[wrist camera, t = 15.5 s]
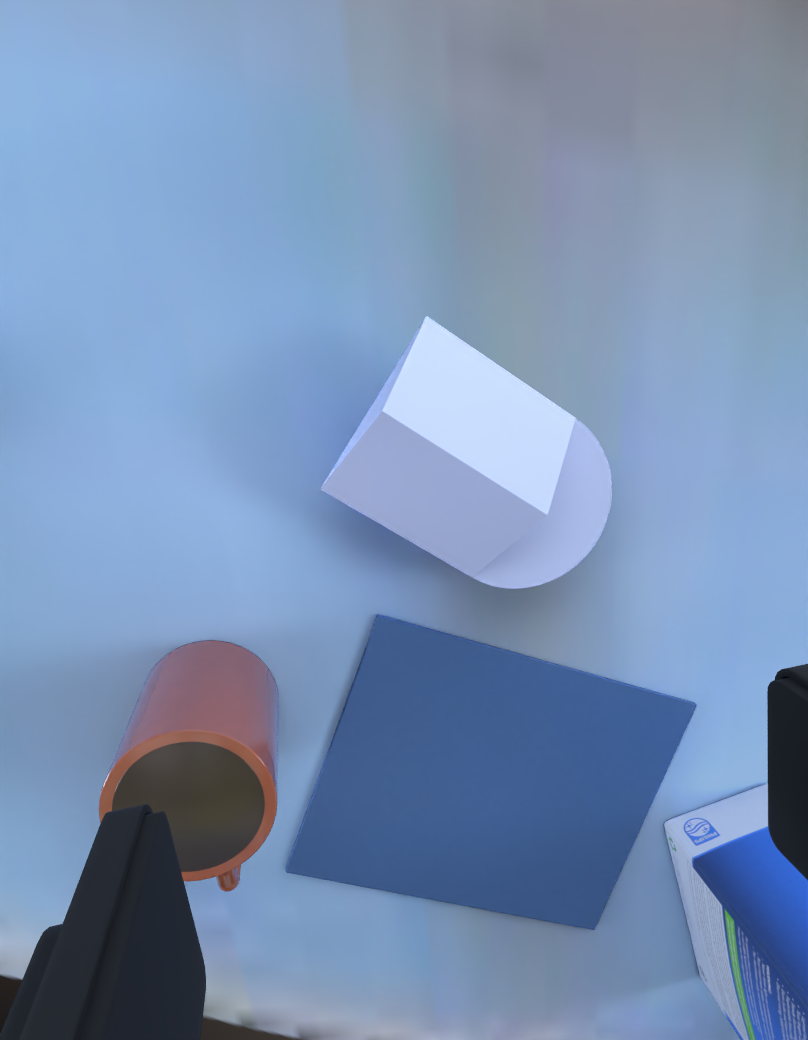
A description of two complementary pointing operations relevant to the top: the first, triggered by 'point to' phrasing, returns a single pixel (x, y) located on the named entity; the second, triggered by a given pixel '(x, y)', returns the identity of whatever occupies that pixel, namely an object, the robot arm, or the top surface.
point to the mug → (203, 757)
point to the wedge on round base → (476, 467)
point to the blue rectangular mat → (486, 777)
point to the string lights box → (744, 915)
